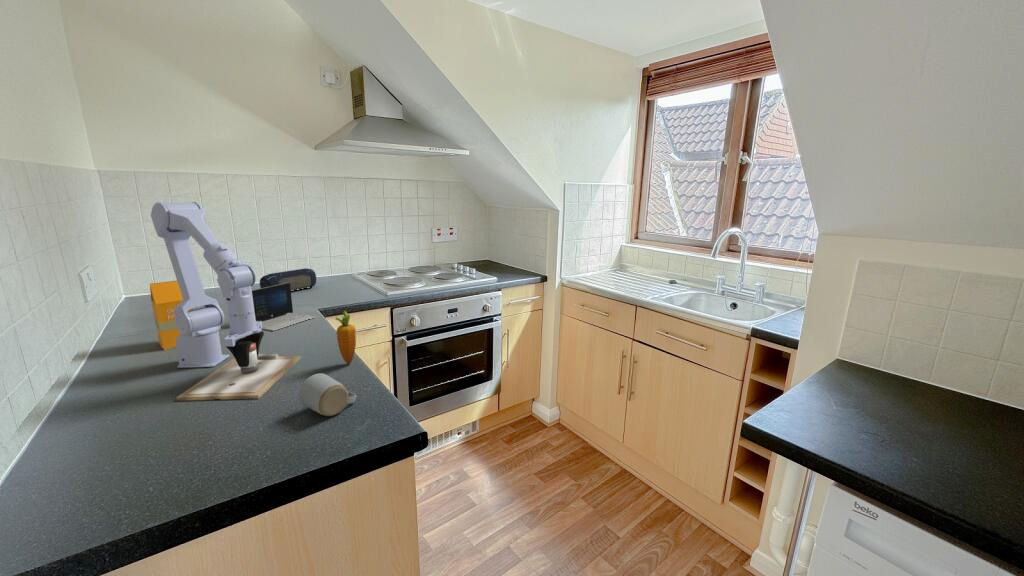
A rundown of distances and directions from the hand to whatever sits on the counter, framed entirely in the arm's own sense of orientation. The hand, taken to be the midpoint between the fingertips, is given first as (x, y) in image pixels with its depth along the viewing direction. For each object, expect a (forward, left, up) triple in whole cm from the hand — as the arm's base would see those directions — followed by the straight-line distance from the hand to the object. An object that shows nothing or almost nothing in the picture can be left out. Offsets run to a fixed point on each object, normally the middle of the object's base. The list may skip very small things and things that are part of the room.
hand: (248, 362), depth 111 cm
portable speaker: (-30, +97, -3) cm, 101 cm away
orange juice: (-34, +25, -3) cm, 42 cm away
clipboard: (0, -2, -3) cm, 4 cm away
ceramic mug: (+27, -19, -3) cm, 34 cm away
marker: (0, 0, -2) cm, 2 cm away
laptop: (-11, +46, -4) cm, 48 cm away
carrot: (+24, +5, -3) cm, 25 cm away
